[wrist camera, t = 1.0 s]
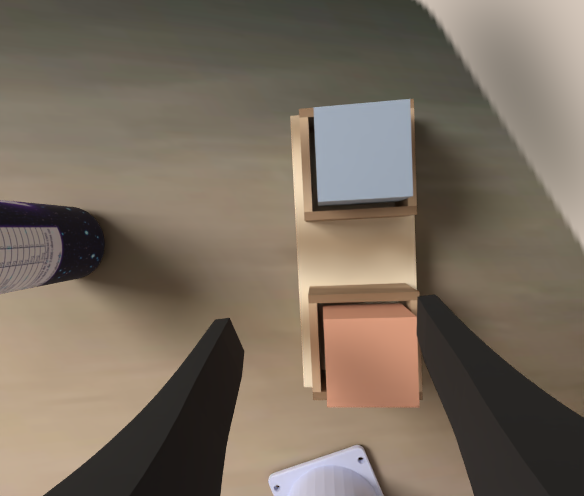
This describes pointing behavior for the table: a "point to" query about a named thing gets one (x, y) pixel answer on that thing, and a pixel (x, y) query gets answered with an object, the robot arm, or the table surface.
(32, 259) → the beverage can
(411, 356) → the terracotta key
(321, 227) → the wooden socket board
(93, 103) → the table surface
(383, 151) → the slate key
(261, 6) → the table surface
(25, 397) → the table surface
